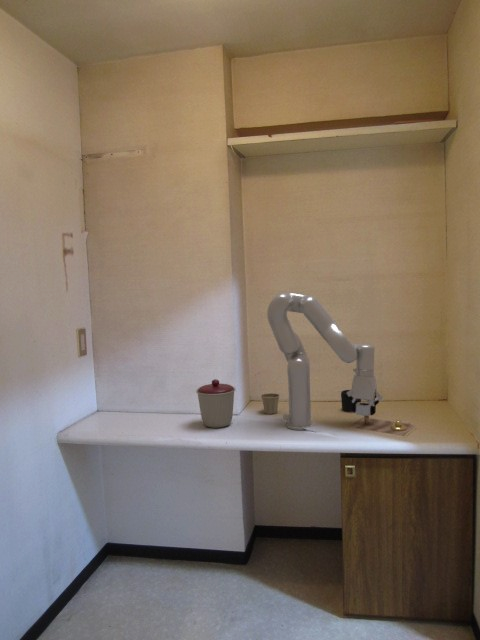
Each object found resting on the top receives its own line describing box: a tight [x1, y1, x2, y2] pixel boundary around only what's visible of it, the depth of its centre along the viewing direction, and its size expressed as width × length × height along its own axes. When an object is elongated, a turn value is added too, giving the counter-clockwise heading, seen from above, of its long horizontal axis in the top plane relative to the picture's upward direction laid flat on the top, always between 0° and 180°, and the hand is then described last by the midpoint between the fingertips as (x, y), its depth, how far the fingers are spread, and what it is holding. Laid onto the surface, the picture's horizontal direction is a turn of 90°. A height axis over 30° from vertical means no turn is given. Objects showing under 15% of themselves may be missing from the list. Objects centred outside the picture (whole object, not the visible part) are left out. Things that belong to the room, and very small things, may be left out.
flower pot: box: [260, 392, 281, 415], centre depth 241 cm, size 9×9×9 cm
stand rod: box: [363, 415, 370, 424], centre depth 212 cm, size 2×2×5 cm
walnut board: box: [347, 416, 417, 437], centre depth 208 cm, size 24×16×1 cm, turn 52°
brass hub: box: [390, 419, 407, 431], centre depth 204 cm, size 7×7×3 cm
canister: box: [195, 378, 236, 429], centre depth 224 cm, size 18×18×21 cm
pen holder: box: [340, 389, 362, 413], centre depth 235 cm, size 9×9×10 cm
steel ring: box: [354, 401, 372, 417], centre depth 212 cm, size 7×7×4 cm
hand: (363, 412), depth 212 cm, fingers closed on steel ring, 7 cm apart
